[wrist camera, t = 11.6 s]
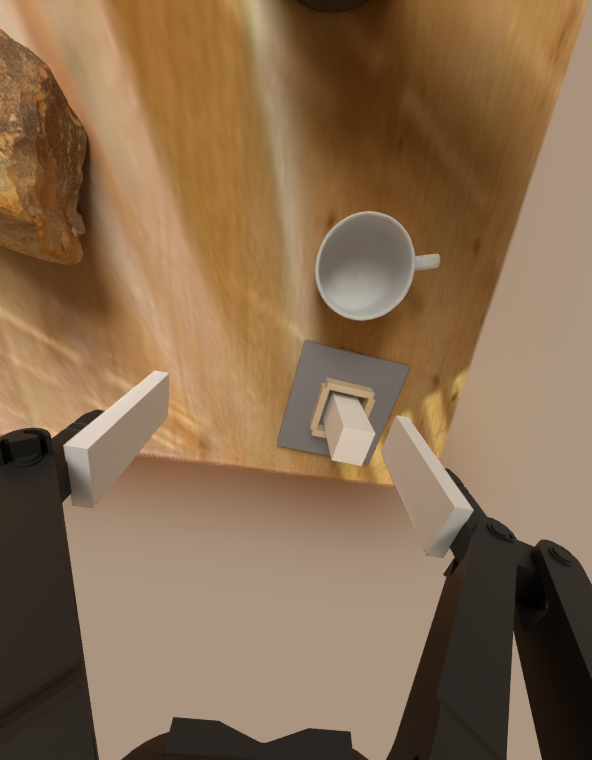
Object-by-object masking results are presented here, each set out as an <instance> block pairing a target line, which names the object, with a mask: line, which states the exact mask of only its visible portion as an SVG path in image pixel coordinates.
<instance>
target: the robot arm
mask: <svg viewBox="0 0 592 760" xmlns="http://www.w3.org/2000/svg"><path fill="white" fill-rule="evenodd" d="M298 1H299V2H301V3H302V4H304V5H306V6H308V7H310V8H313V9H316V10H319V11H324V12H340V11H345V10H348V9H351V8H354V7H356V6H358V5H360V4H362V3H364V2H365V1H367V0H298ZM168 396H169V373H166V372H160V371H154V372H153V373H151V374H150V375H149V376H148V377H146V378H145V379H144V380H143V381H141V382H140V383H139V384H138V385H137V386H135V387H134V388H133V389H132V390H130V391H129V392H128V393H127V394H126V395H124V396H123V397H122V398H121V399H119V400H118V401H117V402H116V403H115V404H113V405H112V406H111V407H110V408H108V409H107V410H106V411H102V410H94V411H92V412H89V413H87V414H84V415H83V416H81V417H80V418H79V419H77V420H76V421H75V422H74V423H72V424H71V425H69V426H68V427H67V429H64V430H63V431H61V432H60V433H59V434H57V435H56V436H55V437H53V438H52V439H51V435H50V433H49V432H48V431H47V430H44V429H41V428H25V429H20V430H16V431H12V432H10V433H7V434H5V435H3V436H1V437H0V760H99V757H98V750H97V743H96V737H95V731H94V725H93V717H92V710H91V703H90V696H89V689H88V682H87V675H86V668H85V661H84V654H83V647H82V640H81V633H80V625H79V619H78V612H77V604H76V597H75V591H74V583H73V576H72V569H71V562H70V555H69V548H68V541H67V534H66V527H65V521H64V513H63V506H62V502H63V501H64V500H65V499H66V498H67V497H68V496H69V495H70V494H71V500H72V505H73V506H80V507H87V508H95V507H96V505H97V504H98V503H99V501H100V500H101V499H102V498H103V496H104V495H105V494H106V492H107V491H108V490H109V489H110V488H111V486H112V485H113V484H114V483H115V481H116V480H117V479H118V478H119V476H120V475H121V474H122V472H123V471H124V470H125V469H126V468H127V466H128V465H129V464H130V462H131V461H132V460H133V459H134V458H135V456H136V455H137V454H138V453H139V451H140V450H141V449H142V448H143V446H144V445H145V444H146V443H147V441H148V440H149V439H150V438H151V436H152V435H153V434H154V433H155V431H156V430H157V429H158V428H159V426H160V425H161V424H162V422H163V421H164V420H165V419H166V417H167V416H168ZM381 454H382V456H383V458H384V461H385V463H386V465H387V468H388V470H389V472H390V474H391V477H392V479H393V481H394V483H395V486H396V488H397V490H398V492H399V495H400V497H401V499H402V501H403V504H404V506H405V508H406V511H407V513H408V515H409V517H410V520H411V522H412V524H413V526H414V529H415V531H416V534H417V536H418V538H419V540H420V543H421V545H422V547H423V549H424V552H425V554H426V555H427V556H434V557H441V558H444V556H445V555H446V553H447V552H448V550H449V548H450V549H451V551H452V552H453V554H454V556H455V558H454V559H453V560H452V562H451V564H450V565H449V567H448V568H447V570H446V571H445V573H444V576H447V577H446V580H445V584H444V586H443V590H442V593H441V596H440V599H439V602H438V606H437V609H436V612H435V615H434V619H433V622H432V625H431V628H430V631H429V634H428V637H427V641H426V644H425V647H424V650H423V653H422V656H421V659H420V663H419V666H418V669H417V672H416V675H415V678H414V682H413V685H412V688H411V691H410V694H409V698H408V701H407V704H406V707H405V710H404V713H403V717H402V720H401V723H400V726H399V729H398V733H397V736H396V739H395V741H394V744H393V746H392V749H391V751H390V753H389V755H388V757H387V759H386V760H507V755H506V754H507V736H508V718H509V698H510V681H511V661H512V643H513V631H514V635H515V640H516V644H517V649H518V653H519V657H520V662H521V667H522V671H523V676H524V680H525V684H526V689H527V693H528V698H529V703H530V707H531V712H532V716H533V721H534V725H535V730H536V735H537V739H538V743H539V748H540V753H541V757H542V760H592V584H591V582H590V580H589V578H588V577H587V575H586V573H585V571H584V569H583V567H582V565H581V564H580V563H579V561H578V560H577V559H576V558H575V557H574V556H573V555H572V554H571V553H570V552H569V551H568V550H566V549H565V548H563V547H562V546H560V545H558V544H556V543H554V542H552V541H549V540H541V541H539V542H538V544H537V545H536V546H535V547H533V546H531V545H528V544H526V543H524V542H521V541H519V540H517V539H516V537H515V536H514V534H513V533H512V532H511V531H510V530H509V529H508V528H507V527H506V526H505V525H503V524H501V523H500V522H499V521H497V520H495V519H493V518H489V517H487V516H486V515H485V513H484V512H483V511H482V509H481V508H480V506H479V505H478V504H477V502H476V501H475V500H474V498H473V497H472V496H471V494H469V492H468V490H467V489H466V488H465V487H464V485H463V483H462V482H461V481H460V479H459V478H458V477H457V476H456V475H455V474H454V473H453V472H451V471H450V470H449V469H446V468H444V467H443V466H442V465H441V463H440V462H439V460H438V459H437V457H436V456H435V455H434V453H433V452H432V450H431V449H430V448H429V446H428V445H427V443H426V442H425V440H424V439H423V438H422V436H421V435H420V433H419V432H418V431H417V429H416V428H415V426H414V425H413V423H412V422H411V421H410V419H409V418H408V417H403V416H398V415H396V416H395V419H394V421H393V424H392V426H391V429H390V431H389V434H388V436H387V438H386V441H385V443H384V446H383V448H382V451H381ZM122 760H368V759H367V758H366V757H364V756H363V755H362V754H360V753H359V752H358V751H356V750H355V749H352V742H351V732H348V731H336V730H324V729H311V728H308V729H305V730H302V731H299V732H297V733H294V734H291V735H288V736H285V737H282V738H279V739H276V740H273V741H270V742H267V743H260V742H258V741H256V740H254V739H252V738H250V737H248V736H247V735H245V734H243V733H241V732H239V731H237V730H235V729H233V728H231V727H229V726H227V725H225V724H224V723H222V722H220V721H213V720H202V719H189V718H177V717H173V720H172V724H171V728H170V732H167V733H164V734H161V735H159V736H156V737H154V738H152V739H150V740H148V741H146V742H145V743H143V744H141V745H140V746H138V747H137V748H135V749H134V750H132V751H131V752H130V753H129V754H128V755H126V756H125V757H124V758H123V759H122Z"/></svg>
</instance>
